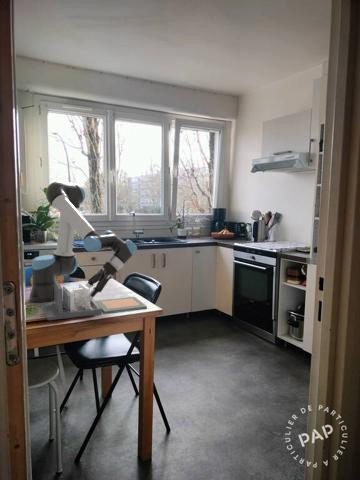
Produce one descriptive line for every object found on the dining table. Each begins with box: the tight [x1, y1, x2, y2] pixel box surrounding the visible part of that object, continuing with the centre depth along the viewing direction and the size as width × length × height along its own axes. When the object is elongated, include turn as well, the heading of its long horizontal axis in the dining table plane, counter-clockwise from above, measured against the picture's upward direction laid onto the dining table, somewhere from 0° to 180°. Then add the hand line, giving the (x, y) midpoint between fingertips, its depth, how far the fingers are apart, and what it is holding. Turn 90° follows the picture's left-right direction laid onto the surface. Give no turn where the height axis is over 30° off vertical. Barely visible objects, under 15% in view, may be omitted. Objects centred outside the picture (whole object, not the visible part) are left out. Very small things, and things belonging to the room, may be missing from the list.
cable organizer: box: [62, 283, 91, 312], centre depth 171 cm, size 15×11×12 cm
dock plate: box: [95, 296, 148, 314], centre depth 180 cm, size 20×22×1 cm
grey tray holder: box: [43, 279, 103, 321], centre depth 169 cm, size 20×24×14 cm
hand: (83, 297), depth 171 cm, fingers open, 13 cm apart
